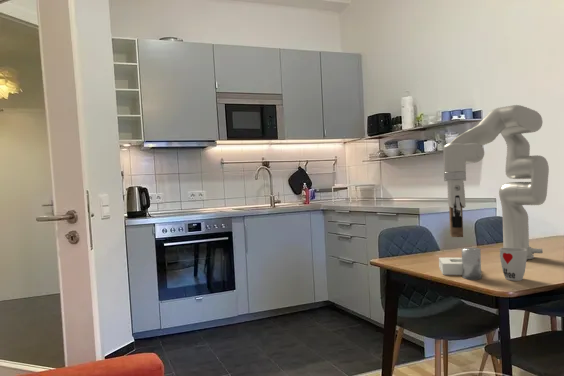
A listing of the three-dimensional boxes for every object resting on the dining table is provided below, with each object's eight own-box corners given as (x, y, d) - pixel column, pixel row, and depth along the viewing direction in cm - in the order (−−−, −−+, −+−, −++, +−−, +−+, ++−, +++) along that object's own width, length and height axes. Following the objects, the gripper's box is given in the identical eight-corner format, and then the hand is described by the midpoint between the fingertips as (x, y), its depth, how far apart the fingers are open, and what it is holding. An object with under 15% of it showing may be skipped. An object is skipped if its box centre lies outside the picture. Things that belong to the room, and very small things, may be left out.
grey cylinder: (479, 275, 152) (478, 247, 152) (483, 279, 146) (482, 250, 146) (461, 275, 153) (460, 247, 153) (464, 279, 148) (463, 250, 147)
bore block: (472, 268, 165) (472, 257, 165) (478, 275, 153) (478, 263, 153) (439, 267, 168) (438, 257, 167) (442, 274, 156) (442, 263, 156)
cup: (495, 276, 149) (494, 248, 149) (517, 275, 150) (516, 246, 150) (509, 282, 141) (508, 251, 141) (533, 280, 142) (532, 250, 142)
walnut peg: (461, 235, 161) (460, 203, 161) (463, 237, 157) (462, 204, 157) (449, 235, 162) (449, 203, 162) (451, 237, 158) (450, 204, 158)
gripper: (469, 176, 151) (471, 229, 151) (462, 177, 167) (463, 224, 167) (446, 177, 152) (448, 229, 153) (441, 177, 169) (442, 224, 169)
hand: (456, 226), depth 160 cm, fingers closed on walnut peg, 4 cm apart
